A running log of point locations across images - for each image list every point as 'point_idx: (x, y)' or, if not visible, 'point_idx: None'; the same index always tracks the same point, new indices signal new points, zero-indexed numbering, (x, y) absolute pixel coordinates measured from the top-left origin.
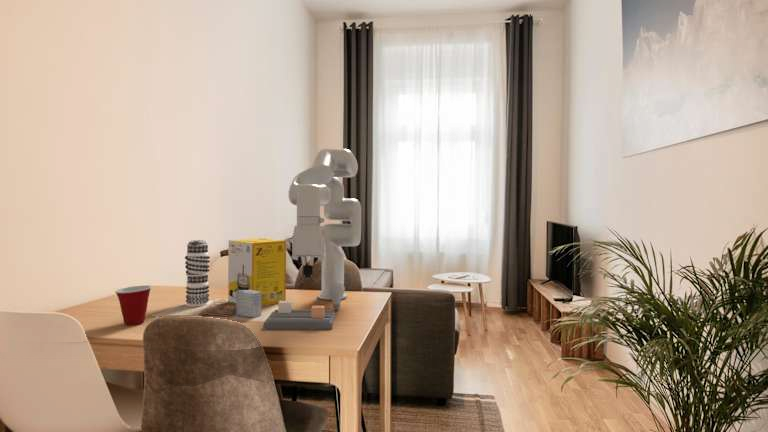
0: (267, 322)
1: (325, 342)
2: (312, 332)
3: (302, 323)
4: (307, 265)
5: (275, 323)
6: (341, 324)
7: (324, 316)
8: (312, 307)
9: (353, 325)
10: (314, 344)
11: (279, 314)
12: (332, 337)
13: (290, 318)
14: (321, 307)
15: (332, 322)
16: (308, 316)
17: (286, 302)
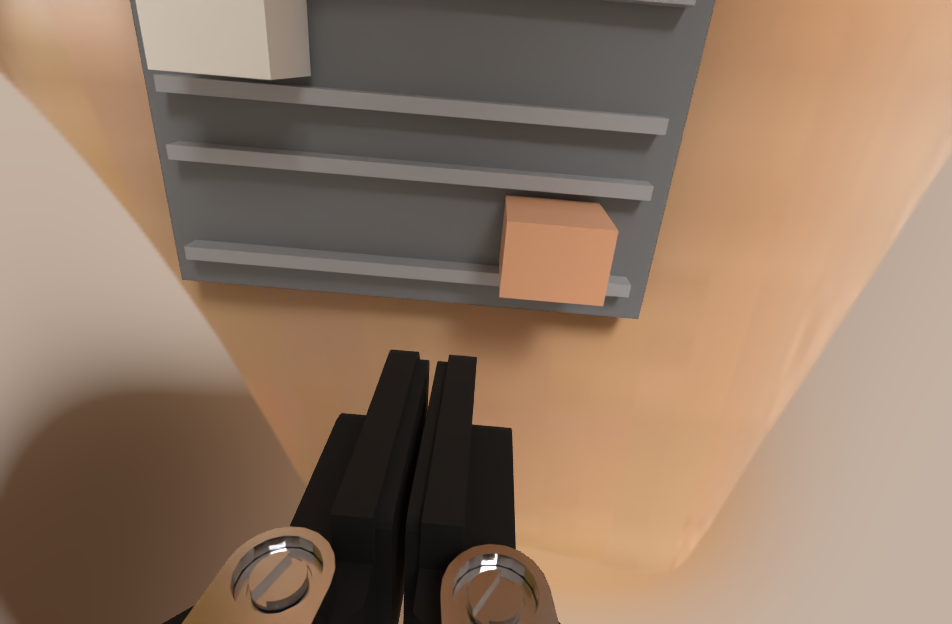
0: (204, 272)
1: (567, 494)
2: (506, 350)
3: (440, 300)
4: (386, 607)
5: (262, 284)
6: (713, 193)
7: (600, 206)
8: (506, 289)
9: (791, 225)
10: (516, 512)
11: (226, 96)
12: (609, 436)
13: (347, 268)
14: (583, 294)
15: (643, 289)
16: (474, 183)
17: (229, 62)
